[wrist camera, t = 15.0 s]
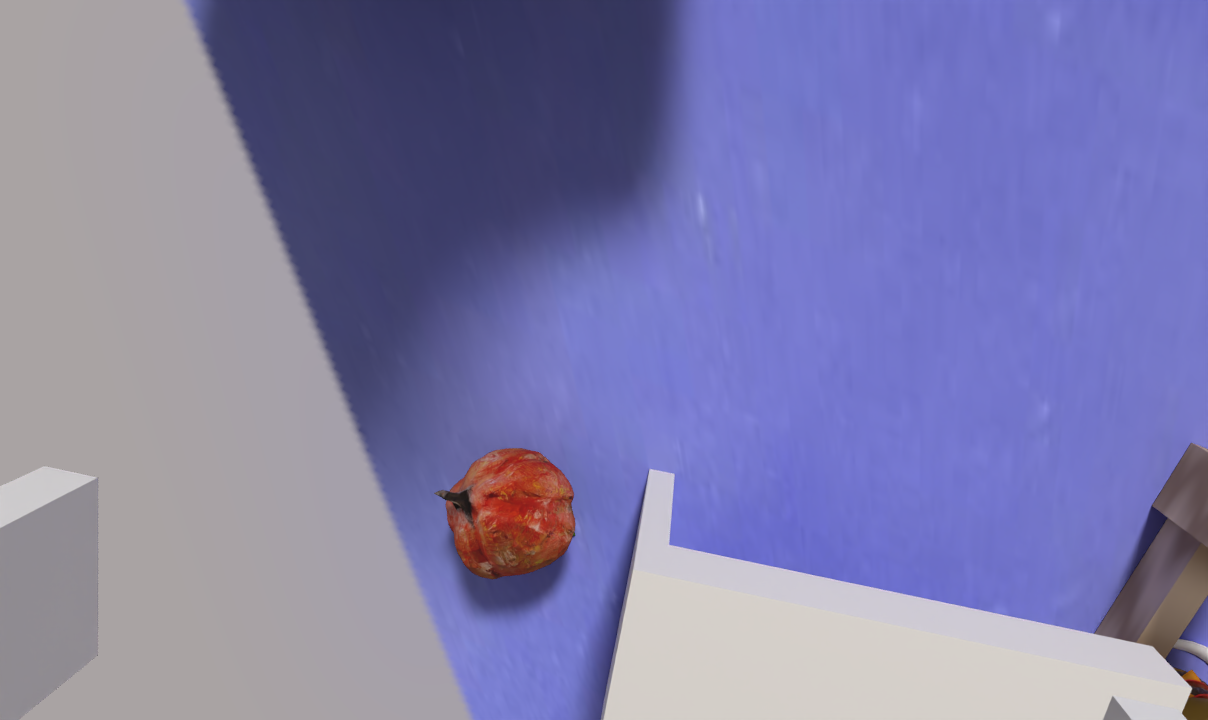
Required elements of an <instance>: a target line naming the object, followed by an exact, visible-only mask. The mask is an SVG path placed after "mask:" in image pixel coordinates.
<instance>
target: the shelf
mask: <svg viewBox="0 0 1208 720" xmlns="http://www.w3.org/2000/svg"><path fill="white" fill-rule="evenodd" d="M674 475H675V474H673V473H668V472H663V471H658V470H653V469H649V474H648V479H647V485H646V490H645V495H644V500H643V505H642V510H641V515H640V520H639V525H638V530H637V535H636V540H635V545H634V550H633V556H632V561H631V566H630V571H629V576H628V581H627V586H626V591H625V596H624V601H623V606H622V611H621V616H620V622H619V627H618V632H617V637H616V642H615V647H614V652H613V657H612V662H611V667H610V672H609V677H608V682H607V687H606V693H605V698H604V703H603V709H602V715H601V720H1103V718H1104V716H1105V713H1106V711H1107V708H1108V706H1109V703H1110V701H1111V698H1112V696H1118V697H1123V698H1127V699H1132V700H1137V701H1141V702H1146V703H1151V704H1155V705H1160V706H1165V707H1169V708H1174V709H1178V710H1179V711H1180V712H1181V713H1182V711H1183V709H1184V707H1185V704H1186V702H1187V700H1188V697H1189V695H1190V693H1191V690H1192V688H1191V686H1190V685H1189V684H1188V683H1187V682H1186V681H1185V680H1184V679H1183V678H1182V677H1181V676H1180V675H1179V674H1178V673H1177V672H1176V671H1175V670H1174V668H1173V667H1172V666H1171V665H1170V664H1169V663H1168V662H1167V661H1166V660H1165V659H1164V658H1163V657H1162V656H1161V655H1160V654H1159V653H1158V652H1157V651H1156V649H1155V648H1154V647H1153V646H1149V645H1144V644H1139V643H1134V642H1130V641H1125V640H1120V639H1115V638H1110V637H1106V636H1101V635H1096V634H1091V633H1087V632H1082V631H1077V630H1072V629H1068V628H1063V627H1058V626H1053V625H1049V624H1044V623H1039V622H1034V621H1029V620H1025V619H1020V618H1015V617H1010V616H1006V615H1001V614H996V613H991V612H987V611H982V610H977V609H972V608H967V607H963V606H958V605H953V604H948V603H944V602H939V601H934V600H929V599H925V598H920V597H915V596H910V595H905V594H901V593H896V592H891V591H886V590H882V589H877V588H872V587H867V586H863V585H858V584H853V583H848V582H843V581H839V580H834V579H829V578H824V577H820V576H815V575H810V574H805V573H801V572H796V571H791V570H786V569H781V568H777V567H772V566H767V565H762V564H758V563H753V562H748V561H743V560H739V559H734V558H729V557H724V556H719V555H715V554H710V553H705V552H700V551H696V550H691V549H686V548H681V547H677V546H672V545H669V539H670V526H671V514H672V501H673V488H674Z"/></svg>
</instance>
